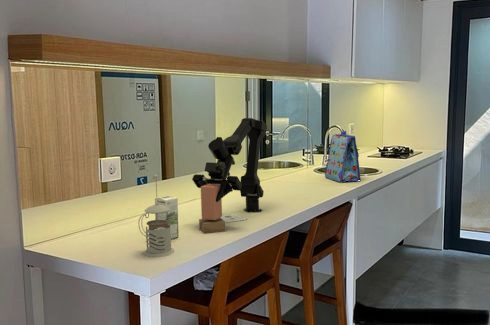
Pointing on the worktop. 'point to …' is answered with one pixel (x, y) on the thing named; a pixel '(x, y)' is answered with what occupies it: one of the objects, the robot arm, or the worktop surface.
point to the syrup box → (169, 214)
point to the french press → (157, 231)
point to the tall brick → (210, 202)
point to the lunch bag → (343, 159)
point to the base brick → (212, 225)
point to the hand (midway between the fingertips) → (209, 200)
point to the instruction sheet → (232, 218)
